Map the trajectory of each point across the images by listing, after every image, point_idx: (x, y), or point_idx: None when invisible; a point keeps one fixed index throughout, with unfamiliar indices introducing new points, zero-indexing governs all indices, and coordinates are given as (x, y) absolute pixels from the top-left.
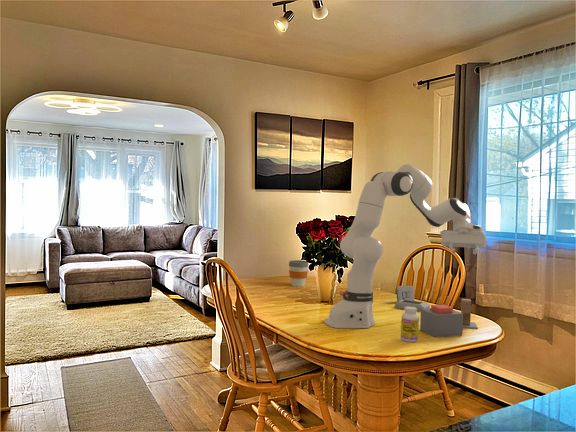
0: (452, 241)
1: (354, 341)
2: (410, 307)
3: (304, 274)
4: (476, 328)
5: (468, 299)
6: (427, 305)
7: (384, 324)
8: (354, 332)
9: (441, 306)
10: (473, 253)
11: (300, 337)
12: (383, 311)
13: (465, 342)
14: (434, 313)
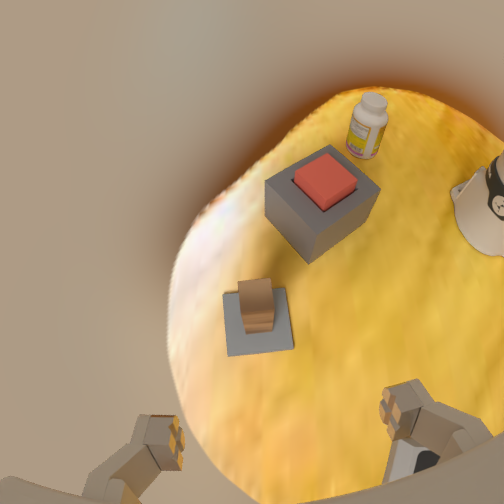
0: (480, 451)
1: (424, 123)
2: (376, 101)
3: None
4: (226, 294)
5: (247, 302)
6: (390, 480)
7: (443, 234)
8: (451, 162)
9: (327, 174)
10: (180, 429)
11: (479, 125)
12: (487, 368)
13: (257, 170)
14: (336, 156)
